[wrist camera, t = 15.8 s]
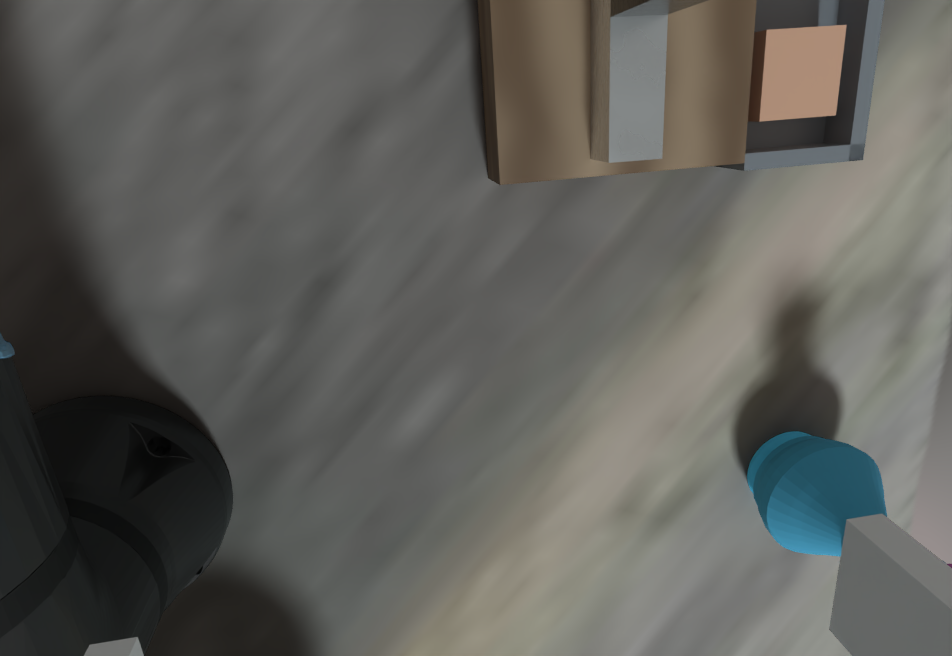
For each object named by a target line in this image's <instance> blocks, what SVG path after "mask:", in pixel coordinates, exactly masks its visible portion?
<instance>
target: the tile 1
mask: <svg viewBox="0 0 952 656" xmlns="http://www.w3.org/2000/svg"><path fill="white" fill-rule="evenodd" d="M846 26H847V25H835V26H819V27H803V28H787V29H771V30H763V31H759V32H754V43H753V56H752V70H751V83H750V97H749V110H748V121H752V122H761V121H773V120H785V119H798V118H810V117H822V116H834V115H836V111H837V102H838V94H839V85H840V77H841V68H842V60H843V51H844V43H845V34H846Z"/></svg>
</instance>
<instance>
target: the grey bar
mask: <svg viewBox="0 0 952 656" xmlns="http://www.w3.org/2000/svg"><path fill="white" fill-rule="evenodd" d="M705 1H708V0H591V159H592V160H597V161H602V162H607V163H613V162H626V161H639V160H652V159H662V153H663V128H664V102H665V77H666V51H667V25H668V14H671V13H674V12H677V11H680V10H682V9H685V8H688V7H691V6H694V5H697V4H700V3H703V2H705Z"/></svg>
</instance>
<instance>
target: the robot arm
mask: <svg viewBox="0 0 952 656" xmlns="http://www.w3.org/2000/svg"><path fill="white" fill-rule="evenodd" d="M14 354H15V352H14V349H13V347H12V345H11V344H10V342H7V341H5V340H4V339H3V337H2V335H1V333H0V656H144V655H145V653H146V651H147V648H148V646H149V644H150V641H151V639H152V637H153V634H154V632H155V629H156V627H157V625H158V622H159V620H160V618H161V615H162V613H163V612H164V611H165V610H166V609H167V607H168V606H169V605H170V604H171V603H172V602H173V600H174V599H175V598H176V596H177V595H178V594H179V593H180V592H181V591H182V590H183V589H185V588H186V587H187V586H189V585H190V584H191V583H192V582H193V581H195V580H196V579H197V578H198V577H199V576H200V575H201V574H202V573H203V571H204V570H205V569H206V568H207V567H208V565H209V564H210V563H211V561H212V560H213V558H214V557H215V555H216V553H217V551H218V550H219V547H220V545H221V543H222V540H223V538H224V535H225V532H226V529H227V527H228V524H229V521H230V517H231V513H232V505H233V492H232V485H231V480H230V477H229V473H228V471H227V468H226V466H225V464H224V462H223V460H222V458H221V456H220V455H219V453H218V452H217V450H216V449H215V447H214V446H213V445H212V444H211V442H210V441H209V440H208V439H207V438H206V437H205V436H204V435H203V434H202V433H201V432H200V431H199V430H198V429H196V428H195V427H194V426H193V425H191V424H190V423H189V422H187V421H186V420H184V419H183V418H181V417H179V416H178V415H176V414H174V413H172V412H170V411H168V410H166V409H163V408H161V407H159V406H156V405H153V404H150V403H147V402H143V401H139V400H135V399H130V398H124V397H114V396H92V397H83V398H76V399H72V400H67V401H64V402H60V403H57V404H54V405H52V406H49V407H47V408H45V409H43V410H41V411H39V412H37V413H35V414H34V415H32V412H31V409H30V406H29V404H28V401H27V398H26V395H25V393H24V390H23V387H22V384H21V382H20V379H19V376H18V373H17V371H16V368H15V365H14V362H13V360H12V357H11V356H13V355H14ZM829 630H830V631H831V632H832V633H833V634H834V635H835V637H836V638H837V639H838V640H839V641H840V642H841V643H842V645H843V646H844V647H845V648H846V649H847V650H848V651H849V652H850V654H851V655H852V656H952V568H951V567H950V566H948V565H947V564H946V563H944V562H943V561H942V560H941V559H939V558H938V557H937V556H936V555H934V554H933V553H932V552H931V551H929V550H928V549H927V548H925V547H924V546H923V545H922V544H920V543H919V542H918V541H916V540H915V539H914V538H913V537H911V536H910V535H909V534H908V533H906V532H905V531H904V530H903V529H901V528H900V527H899V526H897V525H896V524H895V523H894V522H892V521H891V520H890V519H889V518H887V517H886V516H885V515H883V514H876V515H870V516H864V517H858V518H852V519H846V526H845V532H844V538H843V545H842V551H841V557H840V564H839V570H838V576H837V583H836V589H835V596H834V602H833V608H832V615H831V621H830V627H829Z"/></svg>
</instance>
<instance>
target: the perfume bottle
mask: <svg viewBox="0 0 952 656" xmlns="http://www.w3.org/2000/svg"><path fill="white" fill-rule="evenodd" d="M747 480H748V485H749V487H750V490H751V491H752V492H753V494H754V499H755V501H756V503H757V505H758V510H759V513H760V515H761V517H762V520H763V522H764V525H765V527H766V528H767V530H768V531H769V532H770V534H771V535H772V536H773V538H774V539H775V540H776V541H777V542H778V543H779V544H780V545H782V546H783V547H784V548H787V549H789V550H791V551H794V552H800V553H807V554H816V555H832V556H841V551H842V545H843V538H844V532H845V526H846V519H852V518H858V517H864V516H870V515H876V514H883V515H885V516H886V517H887V513H886V507H885V501H884V490H883V485H882V479H881V475H880V472H879V468H878V466H877V465H876V463H875V462H874V460H873V459H872V458H871V457H870V456H868V455H867V454H866V453H864V452H862V451H861V450H859V449H857V448H855V447H853V446H851V445H849V444H846V443H842V442H839V441H835V440H830V439H824V438H821V437H817V436H811V435H809V434H807V433H804V432H799V431H791V432H785V433H782V434H779V435H777V436H775V437H773V438H771V439H769V440H768V441H767V442H766V443H764V444H763V445H762V446H761V447H760V448H759V449H758V450H757V452H756V453H755V454H754V456H753V458H752V460H751V462H750V464H749V468H748V473H747ZM943 562H944V561H943ZM944 563H945V562H944ZM947 565H948V566H950V567H951V568H952V564H947Z"/></svg>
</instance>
